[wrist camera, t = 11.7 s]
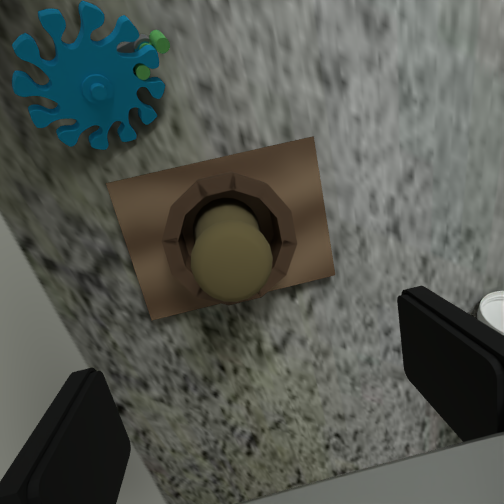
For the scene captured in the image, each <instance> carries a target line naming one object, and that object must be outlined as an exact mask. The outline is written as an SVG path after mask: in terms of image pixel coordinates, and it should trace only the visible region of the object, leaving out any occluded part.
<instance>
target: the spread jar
mask: <svg viewBox="0 0 504 504" xmlns="http://www.w3.org/2000/svg"><path fill="white" fill-rule="evenodd" d="M477 319H478V320H479V321H481V322H483V323H484V324H486V325H488V326H489V327H491V328H492V329H494V330H496V331H497V332H499V333H501V334H502V335H504V291H496V292H492V293H490V294H488V295H486V296H485V297H483V299H482V300H481V302H480V305H479V308H478V312H477Z"/></svg>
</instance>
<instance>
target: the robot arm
mask: <svg viewBox="0 0 504 504" xmlns="http://www.w3.org/2000/svg"><path fill="white" fill-rule="evenodd" d="M397 303H398V313H399V323H400V333H401V343H402V354H403V364H404V371H405V374H406V376H407V378H408V379H409V381H410V382H411V383H412V384H413V385H414V386H415V387H416V389H417V390H418V391H419V392H420V393H421V394H422V395H423V397H424V398H425V399H426V400H427V401H428V402H429V403H430V405H431V406H432V407H433V408H434V409H435V410H436V411H437V412H438V414H439V415H440V416H441V417H442V418H443V419H444V420H445V422H446V423H447V424H448V425H449V426H450V427H451V428H452V429H453V431H454V432H455V433H456V434H457V435H458V436H459V437H460V439H461V440H462V441H463V442H462V443H458V444H454V445H450V446H446V447H443V448H439V449H435V450H431V451H428V452H424V453H420V454H416V455H413V456H409V457H405V458H401V459H398V460H394V461H390V462H386V463H383V464H379V465H375V466H371V467H368V468H364V469H360V470H356V471H353V472H349V473H345V474H342V475H338V476H334V477H331V478H327V479H323V480H320V481H316V482H312V483H309V484H305V485H301V486H298V487H294V488H290V489H287V490H283V491H279V492H276V493H272V494H268V495H265V496H261V497H257V498H254V499H250V500H247V501H243V502H239V503H236V504H504V335H502V334H501V333H499V332H497V331H496V330H494V329H492V328H491V327H489V326H488V325H486V324H484V323H483V322H481V321H479V320H478V319H476V318H474V317H473V316H471V315H470V314H468V313H466V312H465V311H463V310H461V309H460V308H458V307H456V306H455V305H453V304H452V303H450V302H448V301H447V300H445V299H443V298H442V297H440V296H438V295H437V294H435V293H434V292H432V291H430V290H429V289H427V288H425V287H424V286H418V287H414V288H410V289H406V290H403V291H402V294H401V296H398V299H397ZM130 450H131V446H130V440H129V437H128V435H127V432H126V430H125V427H124V425H123V422H122V420H121V417H120V415H119V412H118V410H117V407H116V405H115V402H114V400H113V397H112V395H111V392H110V390H109V387H108V385H107V382H106V380H105V377H104V375H103V373H102V372H101V371H96V370H95V369H94V368H88V369H85V370H81V371H77V372H73V373H72V374H71V375H70V376H69V378H68V379H67V381H66V382H65V384H64V385H63V387H62V388H61V390H60V391H59V393H58V394H57V396H56V398H55V399H54V401H53V402H52V403H51V405H50V407H49V408H48V410H47V411H46V413H45V414H44V416H43V417H42V419H41V420H40V422H39V423H38V425H37V426H36V428H35V429H34V431H33V433H32V434H31V436H30V437H29V439H28V440H27V442H26V443H25V445H24V446H23V448H22V449H21V451H20V452H19V454H18V456H17V457H16V458H15V460H14V462H13V463H12V465H11V466H10V468H9V469H8V471H7V472H6V474H5V475H4V477H3V478H2V480H1V481H0V504H116V502H117V499H118V495H119V491H120V488H121V484H122V481H123V477H124V474H125V470H126V466H127V463H128V459H129V456H130Z"/></svg>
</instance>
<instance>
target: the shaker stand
mask: <svg viewBox="0 0 504 504" xmlns="http://www.w3.org/2000/svg"><path fill="white" fill-rule="evenodd" d="M106 185H107V188H108V191H109V194H110V197H111V200H112V203H113V206H114V209H115V212H116V215H117V218H118V221H119V224H120V227H121V230H122V233H123V236H124V239H125V242H126V245H127V248H128V251H129V254H130V257H131V260H132V263H133V266H134V269H135V272H136V275H137V278H138V281H139V284H140V287H141V290H142V293H143V296H144V299H145V302H146V305H147V308H148V311H149V314H150V317H151V320H156V319H160V318H164V317H168V316H172V315H176V314H180V313H184V312H188V311H192V310H196V309H200V308H204V307H208V306H212V305H216V304H220V303H222V304H226V305H232V304H236V303H240V302H244V301H248V300H252V299H256V298H260V297H262V296H263V295H265V294H266V293H267V292H269V291H273V290H277V289H281V288H285V287H289V286H293V285H297V284H301V283H305V282H309V281H313V280H318V279H322V278H326V277H330V276H334V275H335V270H334V264H333V257H332V251H331V244H330V238H329V232H328V225H327V219H326V213H325V206H324V200H323V193H322V187H321V181H320V174H319V168H318V161H317V155H316V149H315V142H314V136H313V137H308V138H304V139H299V140H295V141H290V142H286V143H282V144H277V145H273V146H268V147H264V148H260V149H255V150H251V151H246V152H242V153H238V154H233V155H229V156H224V157H220V158H215V159H211V160H207V161H202V162H198V163H193V164H189V165H185V166H180V167H176V168H171V169H167V170H163V171H158V172H154V173H149V174H145V175H140V176H136V177H132V178H127V179H123V180H118V181H114V182H110V183H106ZM220 198H234V199H237V200H239V201H242V202H244V203H245V204H246V205H248V206H249V207H250V208H251V209H252V210H253V212H254V213H255V215H256V217H257V219H258V223H259V227H260V232H261V233H262V234H263V236H264V237H265V239H266V240H267V242H268V243H269V245H270V248H271V252H272V257H273V261H272V270H271V273H270V276H269V278H268V280H267V283H266V284H265V285H264V286H263V287H262V289H261V290H260V291H259V292H258V293H256V294H255V295H253V296H251V297H250V298H248V299H245V300H241V301H237V302H228V301H221V300H218V299H215V298H213V297H211V296H210V295H208V294H207V293H206V292H204V291H203V290H202V289H201V287H200V286H199V284H198V283H197V282H196V280H195V279H194V276H193V273H192V270H191V253H192V250H193V247H194V245H195V241H194V238H193V223H194V220H195V218H196V215H197V214H198V212H199V211H200V210H201V209H202V207H203V206H205V205H206V204H208V203H209V202H211V201H212V200H216V199H220Z"/></svg>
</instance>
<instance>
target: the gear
mask: <svg viewBox="0 0 504 504" xmlns="http://www.w3.org/2000/svg"><path fill="white" fill-rule="evenodd" d="M78 9H79V14H80V19H81V28H80V32H79V34H78V36H77V38H76V40H75V42H74V43H72V44H66V43H64V42H63V41H61V37H62V34H63V32H64V30H65V28H66V23H65V20H64V18H63V16H62V14H61V13H60V11H59V10H58V9H44V10H41V11H38V17H39V20H40V22H41V24H42V26H43V28H44V29H45V30H46V31H47V32H48V33H49V34H50V36H51V37H52V38H53V41H54V44H55V50H56V56H55V58H54V59H53V60H50V61H47V60H44V59H42V58H41V57H40V54H39V49H38V47H37V44H36V42H35V40H34V39H33V38H32V37H31V36H30V35H28V34H26V33H24V34H22V35H20V36H19V37H18V38H17V39H16V40H15V41H14V43H13V44H12V46H13V49H14V52H15V53H16V55H17V56H18V57H19V58H20V59H22V60H24V61H28V62H30V63H32V64H34V65H36V66H38V67H39V68H40V69H41V70H43V71H44V73H45V74H46V75H47V76H48V77H49V79H50V80H49V82H48V83H47V84H46V85H39V84H37V83H35V82H34V81H33V80H32V78H31V77H30V76H29V75H28V74H27V73H25V72H23V71H18V70H17V71H14V73H13V77H12V87H13V90H14V93H15V94H17V95H18V96H22V97H28V96H41V97H45V98H48V99H50V100H53V101H55V102H57V103H58V105H57V107H56V108H54V109H48V108H45V107H43V106H41V105H37V104H34V105H30V106H29V107H28V110H29V113H30V116H31V119H32V121H33V123H34V124H35V126H36V127H37V128H44V127H46V126H48V125H49V124H50V123H52V122H53V121H56V120H59V119H69V118H72V119H75V120H77V121H76V123H75V124H73V125H64V126H60V127H59V128H58V129H57V130H56V133H57V135H58V138H59V139H60V140H61V141H62V142H63V143H65V144H66V145H68V146H70V147H71V146H74V145H75V144H76V143H77V141H78V138H79V136H80V134H81V133H82V132H83V131H84V130H86V129H87V128H89V127H91V126H93V125H98V126H100V127H99V129H98V130H97V131H95V132H93V133H91V134H90V136H89V142H90V144H91V146H92V147H93V148H95V149H101V150H106V149H107V148H108V145H109V144H108V140H107V134H108V131H109V129H110V127H111V125H112V124H113V123H114V122H115V121H121V125H120V126H119V128H118V130H117V133H118V135H119V137H120V139H121V140H122V142H128V141H132V140H134V139H136V137H137V135H136V133H135V131H134V129H133V128H132V126H131V125H130V124H129V119H128V114H129V110H130V109H131V108H134V107H137V108H138V115H139V117H140V119H141V120H142V122H143V123H144V124H146V125H148V124H150V123H151V122H152V121H153V120H154V119H155V118H156V117H157V114H156V112H155V111H154V109H153V108H152V107H151V106H150V105H147V104H144V103H143V102H141V101H140V100H139V99H138V97H137V90H138V89H139V88H140V87H146V88H147V89H148V91H149V92H150V94H151V95H152V96H153V97H154V98H157V99H160V98H161V97H162V95H163V93H164V89H165V84H164V83H163V82H162V80H161V79H160V78H158V77H151V78H149V76H150V69H149V68H151V69H155V68H157V67H159V57H158V53H157V51H158V52H159V53H162V54H163V53H166V52H167V51H168V50H169V48H170V43H169V41H168V40H167V39H166V37H165V36H164V35H163V34H162V33H161V32H160V31H158V30H154V31H152V32H151V33H150V35H149V37H148V36H147V35H144V34H140V35H139V32H138V30H137V29H136V27H135V26H134V25H133V24H132V22H131V21H130V20H129V19H128V18H127V17H126V16H125V15H123V16H121V17H119V18H118V20H117V23H116V26H115V28H114V30H113V31H112V33H111V34H110V35H109V36H107V37H106V38H104V39H102V40H100V41H93V40H91V39H90V35H91V32H92V31H93V30H95V29H97V28H99V27H100V26H102V25H103V23H104V14H103V12H102V11H101V10H100V9H99V8H98V7H97V6H95V5H93V4H91V3H89V2H85V1H81V2H80V4H79V8H78ZM120 42H123V43H121V44H120V45H118V44H119V43H120ZM133 71H134V72H135V73H134V72H133Z"/></svg>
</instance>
